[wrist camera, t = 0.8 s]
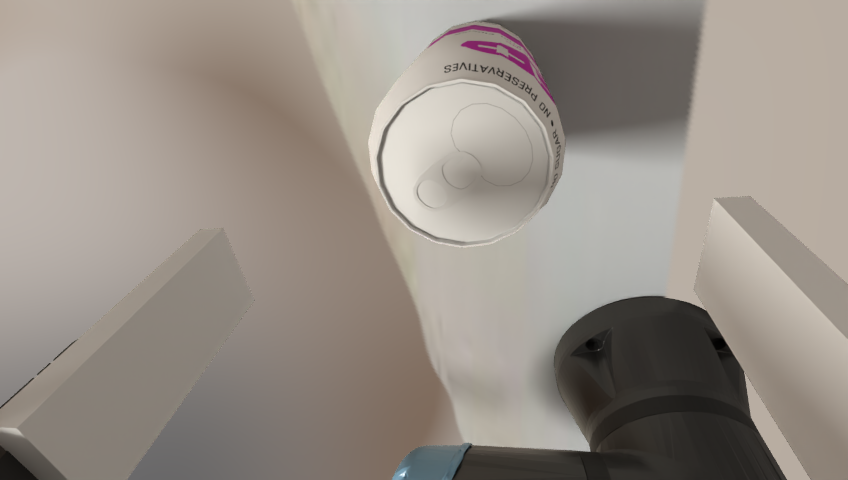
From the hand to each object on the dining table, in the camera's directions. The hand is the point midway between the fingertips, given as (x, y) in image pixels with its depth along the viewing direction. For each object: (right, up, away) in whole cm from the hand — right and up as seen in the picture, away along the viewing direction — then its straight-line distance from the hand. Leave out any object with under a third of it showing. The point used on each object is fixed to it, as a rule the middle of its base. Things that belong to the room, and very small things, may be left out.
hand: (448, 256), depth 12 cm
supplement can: (+3, +11, +18) cm, 21 cm away
